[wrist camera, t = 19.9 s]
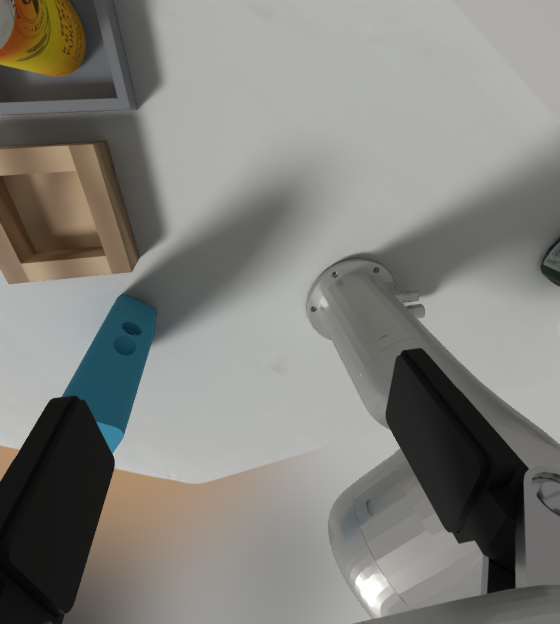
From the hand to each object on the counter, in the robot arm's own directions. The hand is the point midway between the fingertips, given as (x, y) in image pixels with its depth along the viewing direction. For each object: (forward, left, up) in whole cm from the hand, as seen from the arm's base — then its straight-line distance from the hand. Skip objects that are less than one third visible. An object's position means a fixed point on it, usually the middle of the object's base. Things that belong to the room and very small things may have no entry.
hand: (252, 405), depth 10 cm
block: (+15, +15, -31) cm, 37 cm away
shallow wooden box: (+17, 0, -30) cm, 35 cm away
